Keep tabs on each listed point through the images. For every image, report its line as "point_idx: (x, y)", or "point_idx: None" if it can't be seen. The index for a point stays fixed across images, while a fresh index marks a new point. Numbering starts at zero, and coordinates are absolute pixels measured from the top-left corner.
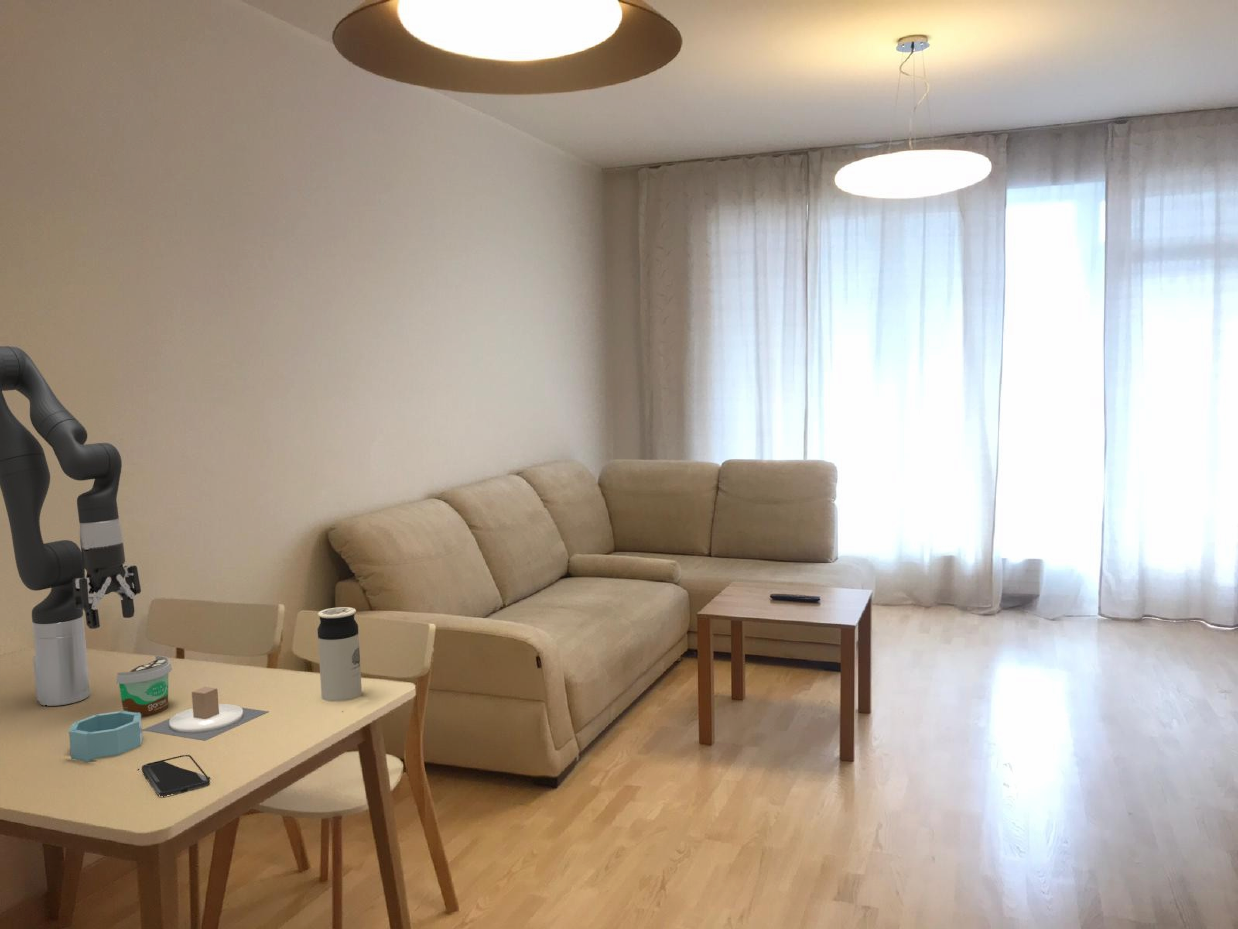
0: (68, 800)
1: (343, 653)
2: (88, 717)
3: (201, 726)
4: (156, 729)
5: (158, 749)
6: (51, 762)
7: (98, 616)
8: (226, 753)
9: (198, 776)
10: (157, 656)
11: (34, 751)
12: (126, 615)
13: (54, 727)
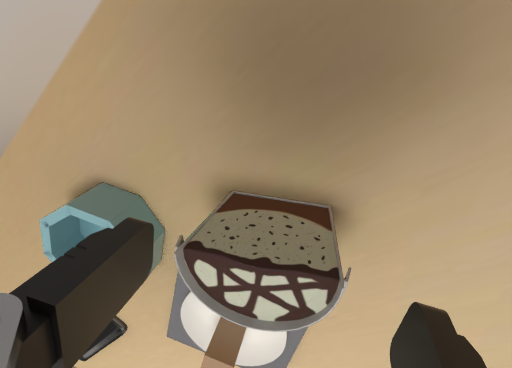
0: (7, 256)
1: None
2: (94, 216)
3: (189, 333)
4: None
5: (140, 289)
6: (59, 174)
7: (105, 324)
8: (151, 356)
9: (87, 351)
10: (340, 291)
11: (76, 113)
12: (408, 333)
13: (178, 56)
